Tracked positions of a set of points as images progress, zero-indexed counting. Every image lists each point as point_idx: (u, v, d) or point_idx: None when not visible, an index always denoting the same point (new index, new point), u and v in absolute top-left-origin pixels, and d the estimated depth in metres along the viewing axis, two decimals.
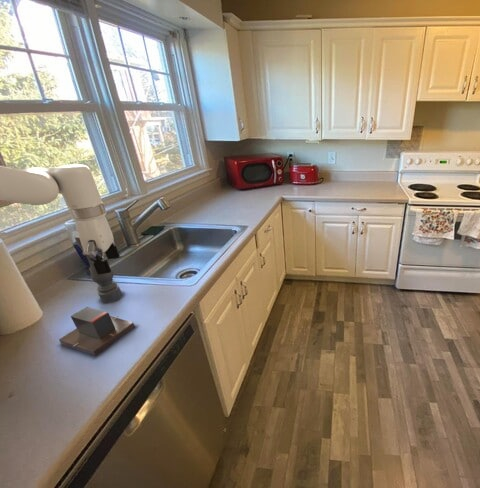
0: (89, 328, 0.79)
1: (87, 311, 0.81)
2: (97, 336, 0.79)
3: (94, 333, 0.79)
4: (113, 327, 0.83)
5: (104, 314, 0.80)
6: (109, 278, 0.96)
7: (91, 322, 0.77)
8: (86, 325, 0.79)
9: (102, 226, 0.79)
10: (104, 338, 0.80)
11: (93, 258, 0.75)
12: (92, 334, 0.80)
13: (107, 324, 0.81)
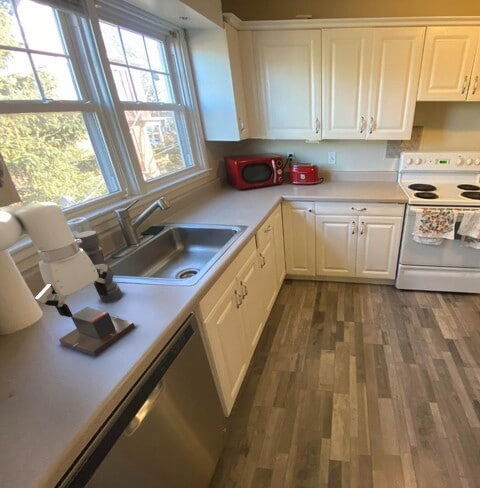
0: (89, 328, 0.79)
1: (87, 311, 0.81)
2: (97, 336, 0.79)
3: (94, 333, 0.79)
4: (113, 327, 0.83)
5: (104, 314, 0.80)
6: (109, 278, 0.96)
7: (91, 322, 0.77)
8: (86, 325, 0.79)
9: (68, 269, 0.71)
10: (104, 338, 0.80)
11: (43, 303, 0.69)
12: (92, 334, 0.80)
13: (107, 324, 0.81)
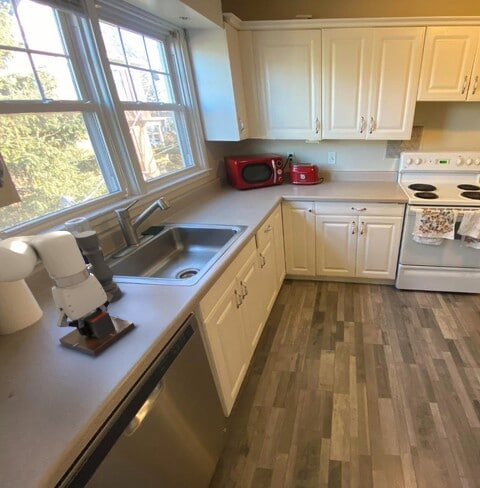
0: (89, 328, 0.79)
1: None
2: (97, 336, 0.79)
3: (94, 333, 0.79)
4: (113, 327, 0.83)
5: (104, 314, 0.80)
6: (109, 278, 0.96)
7: (91, 322, 0.77)
8: None
9: (79, 294, 0.75)
10: (104, 338, 0.80)
11: None
12: (92, 334, 0.80)
13: (107, 324, 0.81)
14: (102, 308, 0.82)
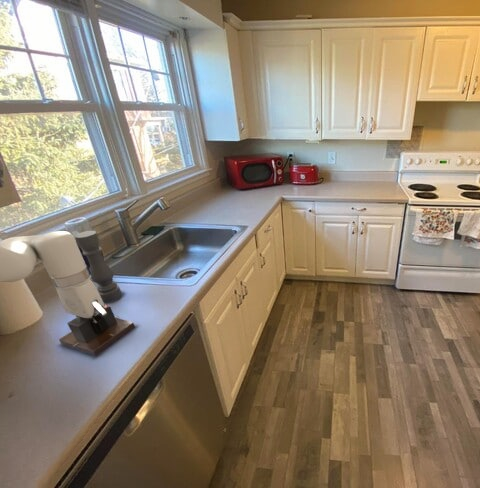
0: None
1: (81, 318, 0.79)
2: (113, 321, 0.85)
3: (110, 321, 0.84)
4: None
5: None
6: (109, 278, 0.96)
7: (108, 307, 0.83)
8: None
9: None
10: (104, 338, 0.80)
11: None
12: None
13: None
14: None
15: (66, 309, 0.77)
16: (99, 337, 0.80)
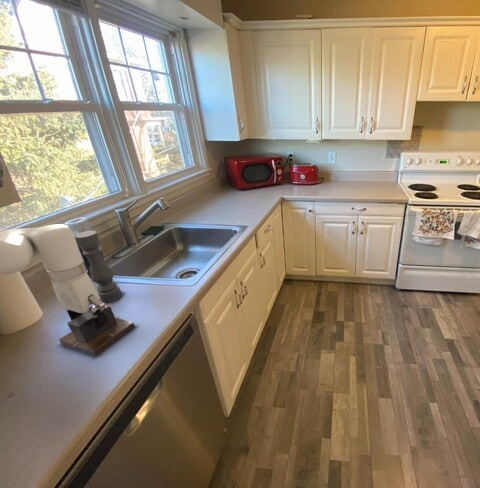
0: None
1: (81, 318, 0.79)
2: (113, 321, 0.85)
3: (110, 321, 0.84)
4: None
5: None
6: (109, 278, 0.96)
7: (108, 307, 0.83)
8: None
9: None
10: (104, 338, 0.80)
11: (102, 310, 0.76)
12: (107, 325, 0.83)
13: None
14: None
15: (61, 304, 0.76)
16: (99, 337, 0.80)
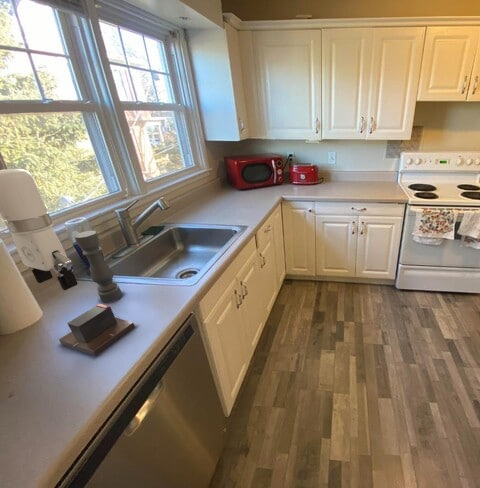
0: (104, 318, 0.82)
1: (81, 318, 0.79)
2: (113, 321, 0.85)
3: (110, 321, 0.84)
4: None
5: (101, 304, 0.84)
6: (109, 278, 0.96)
7: (108, 307, 0.83)
8: (100, 319, 0.81)
9: None
10: (104, 338, 0.80)
11: (69, 268, 0.69)
12: (107, 325, 0.83)
13: None
14: None
15: (24, 261, 0.69)
16: (99, 337, 0.80)
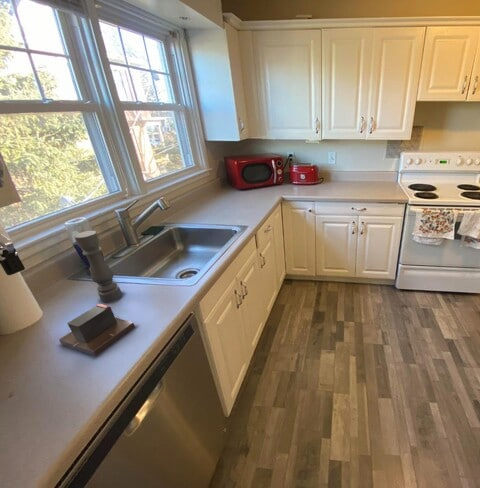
0: (104, 318, 0.82)
1: (81, 318, 0.79)
2: (113, 321, 0.85)
3: (110, 321, 0.84)
4: None
5: (101, 304, 0.84)
6: (109, 278, 0.96)
7: (108, 307, 0.83)
8: (100, 319, 0.81)
9: None
10: (104, 338, 0.80)
11: (11, 250, 0.63)
12: (107, 325, 0.83)
13: None
14: None
15: None
16: (99, 337, 0.80)
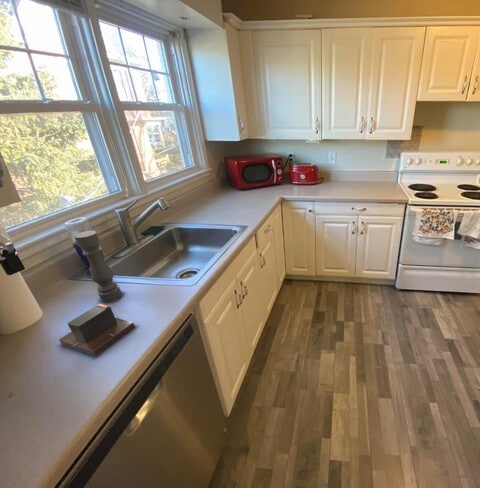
0: (104, 318, 0.82)
1: (81, 318, 0.79)
2: (113, 321, 0.85)
3: (110, 321, 0.84)
4: None
5: (101, 304, 0.84)
6: (109, 278, 0.96)
7: (108, 307, 0.83)
8: (100, 319, 0.81)
9: None
10: (104, 338, 0.80)
11: (11, 250, 0.63)
12: (107, 325, 0.83)
13: None
14: None
15: None
16: (99, 337, 0.80)
